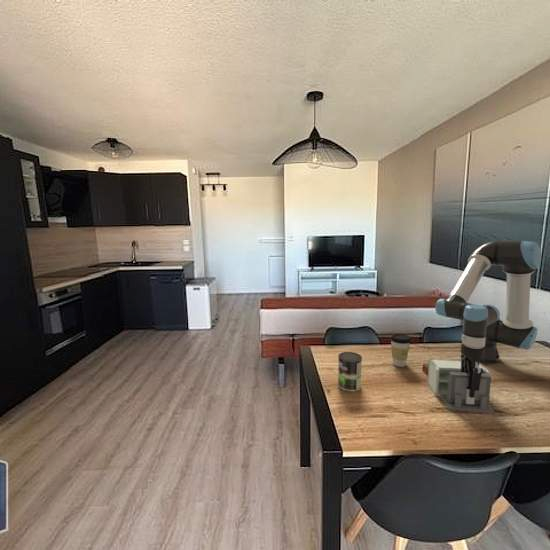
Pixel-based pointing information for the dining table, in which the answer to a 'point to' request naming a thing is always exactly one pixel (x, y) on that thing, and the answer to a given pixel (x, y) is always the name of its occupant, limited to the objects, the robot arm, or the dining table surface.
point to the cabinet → (439, 385)
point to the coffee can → (349, 371)
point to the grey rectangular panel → (460, 382)
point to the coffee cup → (400, 348)
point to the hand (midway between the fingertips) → (467, 401)
